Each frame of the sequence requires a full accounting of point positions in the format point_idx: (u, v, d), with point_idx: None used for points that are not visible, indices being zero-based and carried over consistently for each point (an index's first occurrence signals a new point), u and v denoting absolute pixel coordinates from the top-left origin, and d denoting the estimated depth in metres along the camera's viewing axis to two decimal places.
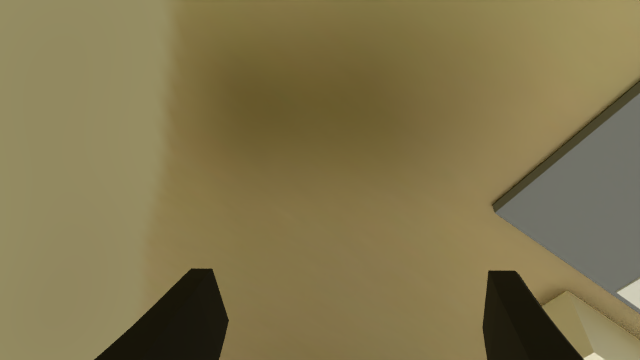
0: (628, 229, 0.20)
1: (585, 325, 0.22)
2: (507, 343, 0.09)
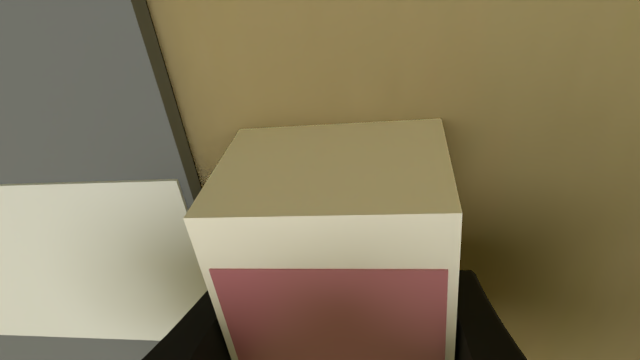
0: None
1: None
2: (458, 342, 0.10)
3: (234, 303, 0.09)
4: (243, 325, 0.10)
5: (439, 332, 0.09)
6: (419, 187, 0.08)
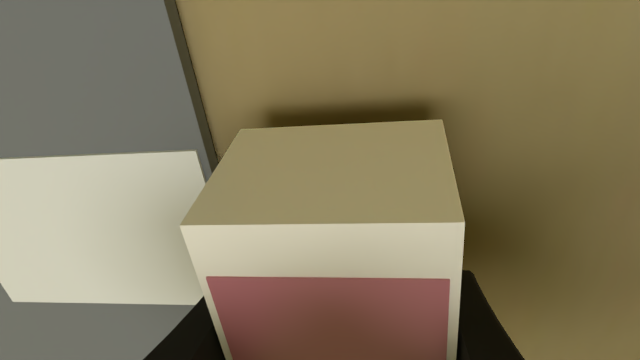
0: None
1: None
2: None
3: (231, 311, 0.09)
4: (240, 333, 0.10)
5: (440, 341, 0.09)
6: (421, 194, 0.08)
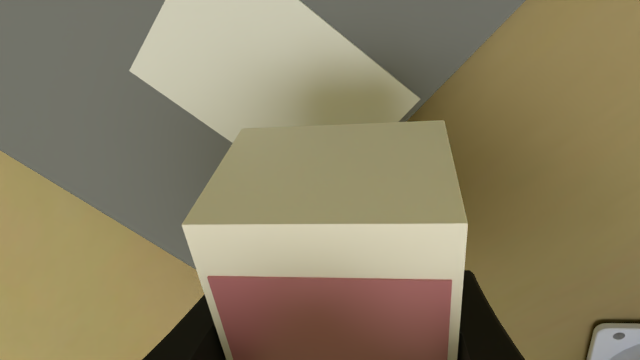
0: None
1: None
2: None
3: (232, 311, 0.09)
4: (241, 333, 0.10)
5: (442, 342, 0.09)
6: (424, 196, 0.08)
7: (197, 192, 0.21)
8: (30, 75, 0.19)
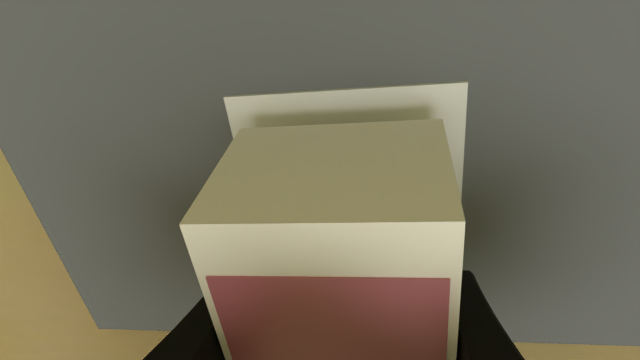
0: (194, 276, 0.16)
1: None
2: None
3: (231, 311, 0.09)
4: (240, 333, 0.10)
5: (440, 341, 0.09)
6: (422, 194, 0.08)
7: (162, 238, 0.16)
8: None
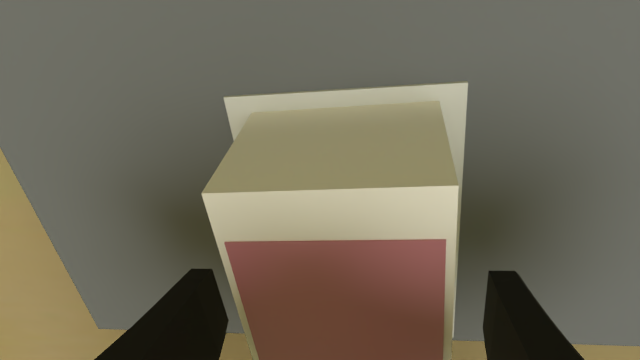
0: None
1: None
2: (507, 344, 0.09)
3: (247, 275, 0.10)
4: (255, 296, 0.11)
5: (438, 300, 0.10)
6: (419, 164, 0.09)
7: (162, 238, 0.16)
8: None
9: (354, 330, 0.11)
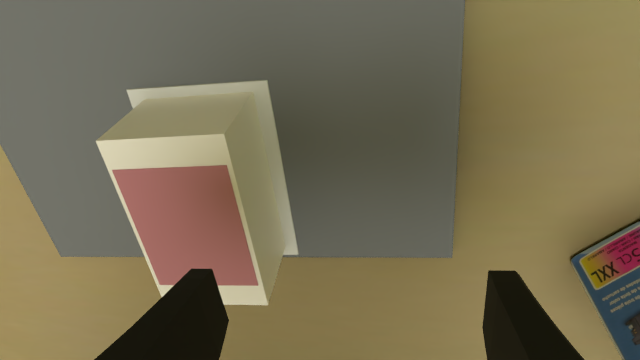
0: (122, 213, 0.24)
1: None
2: (507, 344, 0.09)
3: (127, 190, 0.18)
4: (134, 204, 0.18)
5: (233, 203, 0.17)
6: (213, 124, 0.17)
7: (99, 185, 0.23)
8: (33, 16, 0.19)
9: (195, 225, 0.18)
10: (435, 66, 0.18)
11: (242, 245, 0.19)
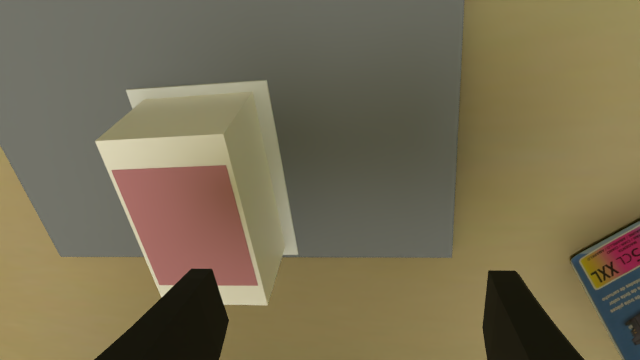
0: (122, 213, 0.24)
1: None
2: (507, 343, 0.09)
3: (127, 190, 0.18)
4: (134, 204, 0.18)
5: (232, 203, 0.17)
6: (213, 125, 0.17)
7: (98, 185, 0.23)
8: (33, 16, 0.19)
9: (194, 226, 0.18)
10: (434, 66, 0.18)
11: (241, 245, 0.19)
